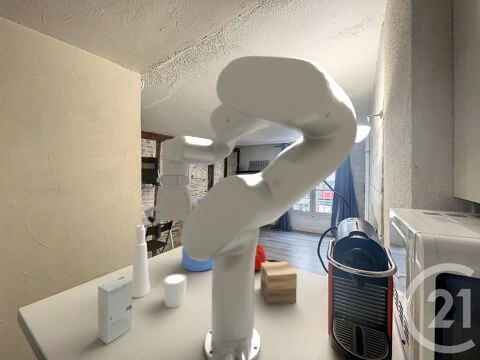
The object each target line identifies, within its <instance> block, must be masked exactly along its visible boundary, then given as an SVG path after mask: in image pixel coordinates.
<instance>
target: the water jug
mask: <svg viewBox="0 0 480 360" xmlns="http://www.w3.org/2000/svg"><path fill="white" fill-rule="evenodd" d="M201 200H202V198H201V199H196V201H197V202H196V203H197V204H198V203H199V202H200V201H201ZM197 204H196V205H197ZM184 222H185V220H181V225H182V226H181V227H182V228H183V225H184ZM181 250H182V252H181V253H182V256H181V258H182V259H181V265H182V267H183V268H184V269H185V270H186V271H187V270H188V271H190V272H205V271H208V270H212V267H213V262H214V259H212V260H209V261H196V260H194V259H192V258H191V257H189V256H188V255H187V254H186V252H185V251H184V249H183V248H182V249H181Z"/></svg>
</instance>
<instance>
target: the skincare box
mask: <svg viewBox="0 0 480 360" xmlns="http://www.w3.org/2000/svg"><path fill="white" fill-rule="evenodd" d="M132 298H133V297H132V279H130V278H127V277H124V276H120V277H118V278H115V279H113V280H110V281H108V282H105V283H104V284H101V285H99V286H97V338H98V339H99V340H101V341H102V342H103V343H105V344H106V345H108V344H110V343H112V342H113V341H115V340H116V339H118V338H119V337H121V336H122V335H124V334H125V333H127V332H128V331H130V330H131V328H132V326H133V325H132V324H133V323H132V322H133V321H132V320H133V318H132V317H133V316H132V315H133V313H132V311H133V309H132V308H133V307H132V306H133V305H132V304H133V303H132V302H133V301H132Z"/></svg>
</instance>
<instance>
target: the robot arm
mask: <svg viewBox="0 0 480 360" xmlns="http://www.w3.org/2000/svg"><path fill="white" fill-rule="evenodd" d="M216 94H217V98H218V100H219V101H220V104H219V105H218V106H217V107H215V108H214V109H213V110H212V112H211V114H210V119H209V120H210V121H209V122H210V126H211V128H212V130H213V133H214V134H215V136H214V137H212V138H210V139H206V138H200V137H195V136H189V135H176V136H174V137H173V138H172V139H171V138H169V139H166V140H163V142H162V144H161V145H162V146H161V148H162V149H161V153H162V154H161V157H162V158H161V176H160V177H159V176H158V177H156V182H157V183H160V184H161V185H159V186H158V189H157V193H156V194H157V195H156V203H155V204H156V205H154V206H152V207H150V208H147V209H146V210H144V215H145V216H146V218H147V221H148V222H150V224H151V225H152V226H153V236H154V237H155V241H156V240H160V238H161V235H162V224H161V221H183V220H185V222H184V225H183V228H182V229H181V233H180V241H181V246H182V249H184V251H185V252H186V254H187V255H188V256H189V257H191V258H192V259H194V260H196V261H209V260H212V259H214V262H213V267H212V269H211V329H210V330H209V331H208V332H207V334H206V336H205V338H204V346H203V347H204V353H205V356H206V357H207V359H208V360H256V359H257V358H258V357H259V354H260V351H261V337H260V335H259V333H258V331H257V330H256V329H255V326H254V325H255V324H254V323H255V321H254V320H255V318H254V317H255V271H256V270H255V254H256V248H257V245H258V241H259V235H260V227H263V226H267V225H270V224H271V223H274V222H275V221H277V220H278V219H279V218H281V216H283V215H284V214H286V212H287V211H289V210H290V209H291V208H292V207H294V206H295V205H296V204H297V203H299V202H300V201H301V200H303V199H304V198H305V197H306V196H308V195H309V193H311V192H312V191H313V190H314V189H316V188H317V187H318V186H319V185H321V184H322V183H323V182H324V181H325V180H327V179H328V178H329V177H330V176H331V175H333V174H334V173H335V172H336V170H338V169H339V168H340V167H341V166H342V165H343V164H344V162H345V161H346V160H347V158H349V157H348V156H349V155H350V154H351V151H352V150H353V147H354V146H355V142H356V139H357V135H358V134H357V132H358V122H357V116H356V113H355V112H356V111H355V108H354V107H353V104H352V101H351V100H350V98H349V97H348V94H346V93H345V91H344V90H343V89H342V88H341V87H340V86H339V84H338V83H336V82H335V81H334V79H333V78H332V77H331V76H330V75H329V74H328V72H326V70H325V69H323V68H322V66H320V65H319V64H317V63H315V62H314V61H311V60H308V59H306V58H301V57H292V56H291V57H289V56H288V57H287V56H270V55H269V56H268V55H250V54H249V55H243V56H239V57H236V58H234V59H233V60H231V61H229V62H228V63H227V64H225V66H223V68H222V70H221V71H220V73H219V75H218V77H217V81H216ZM267 122H270V123H273V124H276V125H278V126H281V127H284V128H287V129H290V130H292V131H295V132H298V133H300V134H302V136H301V137H299V139H298V140H297V141H296V142H294V143H293V144H291V145H289V146H288V147H286V148H285V149H284V150H281V152H280V153H278V155H277V156H276V157H275V158H274V159H273V160H272V161H271V162H270V163H269V164H268V165H267V166H266V167H265V168H264V169H262V170H261V171H259V172H257V173H254V174H235V175H229V176H226V177H223V178H221V180H218V181H217V182H216V183H214V185H213V186H212V187H211V188H210V189H209V190H208V191H207V192H206V194H205V195H204V196H203V197H202V198H201V199H202V200H201V201H200V202H199V203H198V202H197V203H198V204H196V205H195V204H193V194H192V189H191V185H189V165H199V166H200V165H201V166H211V165H214V164H217V163H219V162H220V161H222V160H224V159H225V158H227V157H228V156H230V155H231V153H232V152H233V151H234V149H235V146H236V144H237V141H238V140H240V139H241V138H242V137H243V138H244V137H245V136H246V135H247V134H249V133H252V132H253V131H255V130H257V129H258V128H259V127H261V126H263V125H264V124H267ZM154 211H155V217H154V215H153V214H152V213H153V212H154Z"/></svg>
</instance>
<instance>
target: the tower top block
mask: <svg viewBox="0 0 480 360" xmlns="http://www.w3.org/2000/svg"><path fill="white" fill-rule="evenodd" d="M261 277H262V279H263V281H264V283H265V285H266V287H267V289H268V290H281V289H295V288H296V289H297V288H298V287H297V284H298V283H297V281H298V278H297V277H298V274H297V272H296V271H295V270H294V269H293V268H292V266H291V265H290V264H289V263H288V262H287V261H272V262H271V261H270V262H265V263H261V269H260V278H261Z"/></svg>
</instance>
